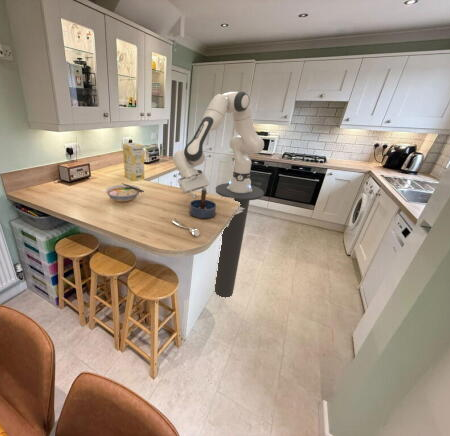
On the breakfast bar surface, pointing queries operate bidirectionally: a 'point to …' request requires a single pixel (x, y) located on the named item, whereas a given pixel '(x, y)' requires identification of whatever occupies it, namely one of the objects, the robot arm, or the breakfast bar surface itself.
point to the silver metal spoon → (192, 230)
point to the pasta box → (133, 161)
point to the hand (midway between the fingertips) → (200, 195)
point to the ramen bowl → (123, 192)
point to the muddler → (203, 199)
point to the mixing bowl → (202, 213)
